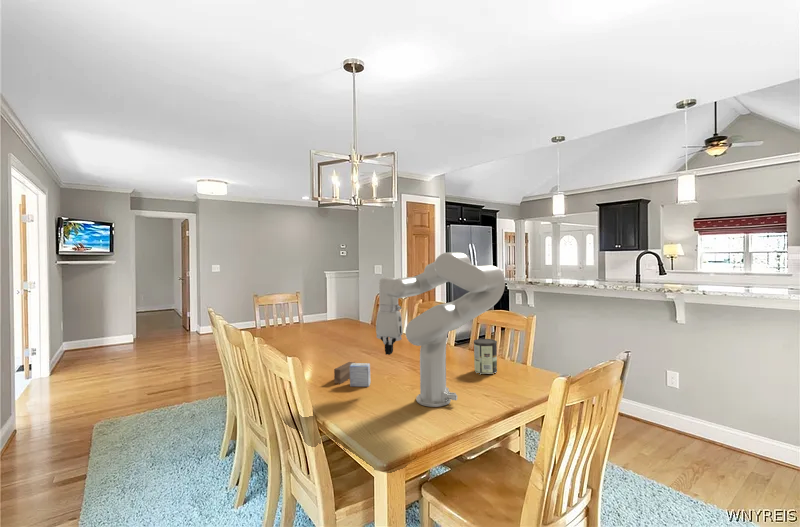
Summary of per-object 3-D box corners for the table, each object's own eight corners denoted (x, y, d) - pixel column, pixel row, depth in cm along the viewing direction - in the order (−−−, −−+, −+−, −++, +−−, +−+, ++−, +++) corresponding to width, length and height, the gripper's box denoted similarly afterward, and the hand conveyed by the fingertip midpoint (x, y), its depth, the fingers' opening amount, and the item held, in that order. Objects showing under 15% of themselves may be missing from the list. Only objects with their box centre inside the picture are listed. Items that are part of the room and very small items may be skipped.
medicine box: (370, 383, 165) (370, 363, 165) (368, 387, 161) (368, 366, 160) (352, 383, 166) (351, 362, 166) (349, 386, 161) (349, 365, 161)
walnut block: (355, 375, 176) (355, 362, 176) (340, 383, 165) (340, 369, 165) (349, 374, 177) (349, 361, 177) (334, 383, 166) (334, 369, 166)
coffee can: (488, 367, 185) (488, 337, 185) (501, 373, 176) (501, 342, 175) (469, 370, 181) (469, 339, 181) (482, 376, 172) (481, 344, 171)
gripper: (409, 308, 157) (409, 353, 158) (376, 306, 163) (376, 349, 164) (402, 311, 150) (402, 358, 151) (367, 308, 156) (368, 354, 157)
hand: (388, 353), depth 157 cm, fingers closed
